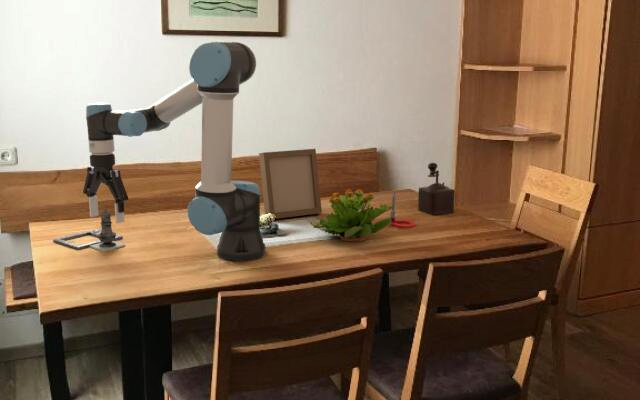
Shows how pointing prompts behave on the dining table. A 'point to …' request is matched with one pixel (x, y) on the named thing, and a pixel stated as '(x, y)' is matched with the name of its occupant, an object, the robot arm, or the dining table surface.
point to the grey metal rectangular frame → (92, 232)
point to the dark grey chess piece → (106, 231)
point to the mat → (96, 246)
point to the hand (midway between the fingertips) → (107, 219)
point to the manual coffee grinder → (436, 196)
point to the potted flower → (353, 217)
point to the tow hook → (394, 221)
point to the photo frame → (290, 183)
